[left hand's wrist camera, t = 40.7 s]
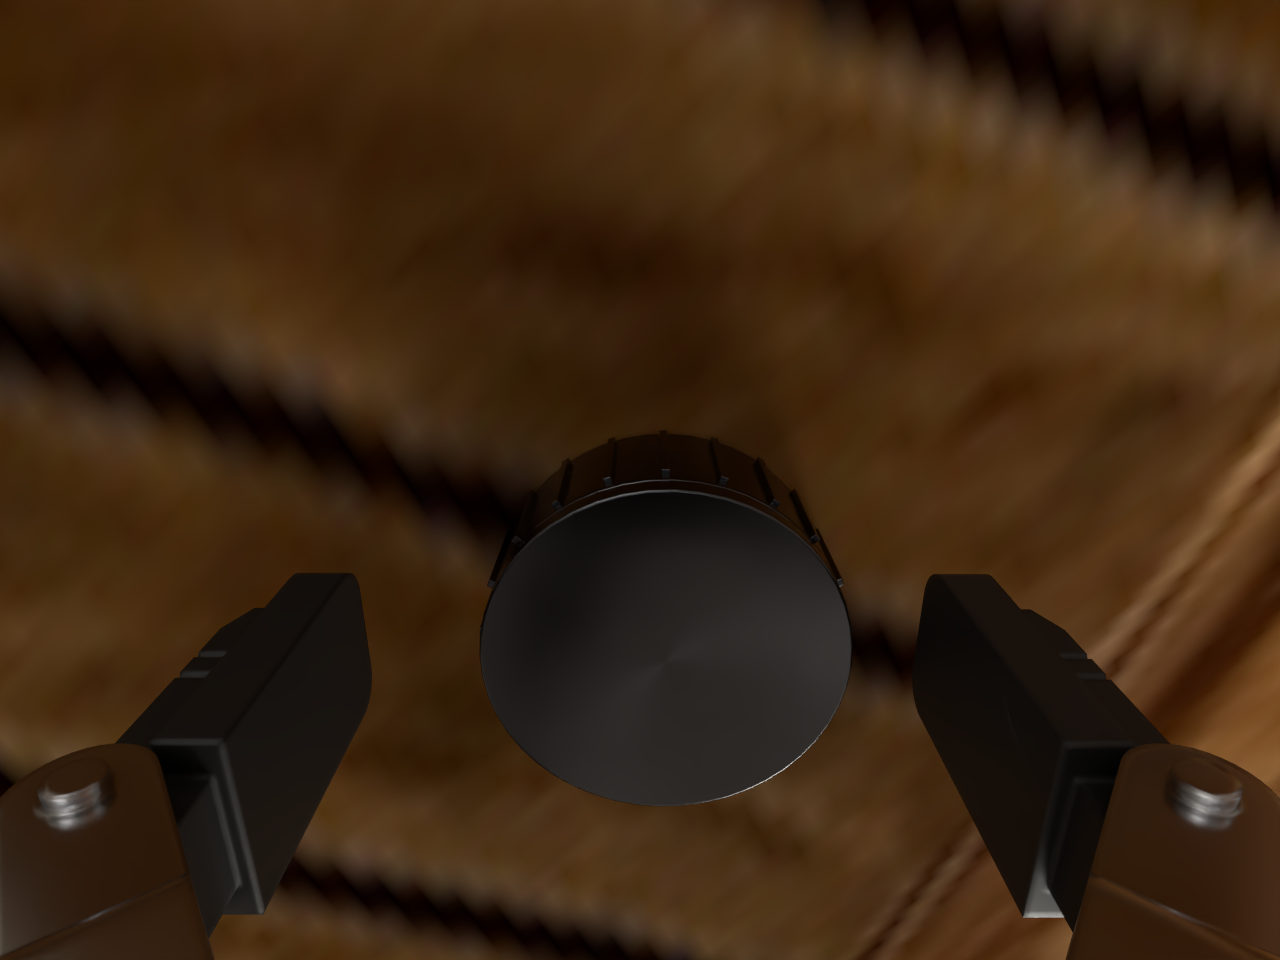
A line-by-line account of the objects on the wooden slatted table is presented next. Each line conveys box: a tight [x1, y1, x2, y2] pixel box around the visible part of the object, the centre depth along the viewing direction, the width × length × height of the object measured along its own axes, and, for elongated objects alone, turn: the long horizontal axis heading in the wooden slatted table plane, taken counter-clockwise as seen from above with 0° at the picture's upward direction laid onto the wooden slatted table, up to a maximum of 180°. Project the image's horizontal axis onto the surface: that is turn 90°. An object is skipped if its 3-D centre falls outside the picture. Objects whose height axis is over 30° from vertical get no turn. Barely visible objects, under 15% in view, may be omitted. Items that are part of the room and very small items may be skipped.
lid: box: [480, 431, 853, 806], centre depth 12 cm, size 5×5×2 cm
